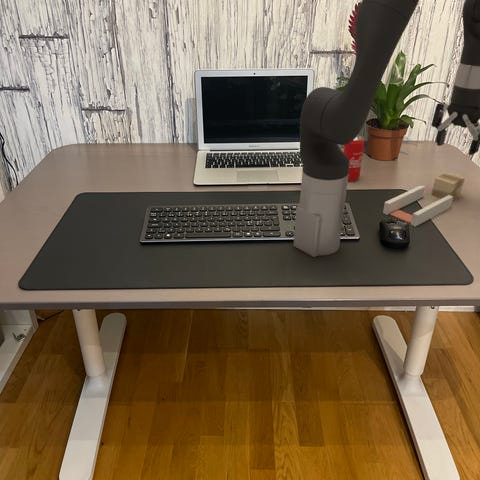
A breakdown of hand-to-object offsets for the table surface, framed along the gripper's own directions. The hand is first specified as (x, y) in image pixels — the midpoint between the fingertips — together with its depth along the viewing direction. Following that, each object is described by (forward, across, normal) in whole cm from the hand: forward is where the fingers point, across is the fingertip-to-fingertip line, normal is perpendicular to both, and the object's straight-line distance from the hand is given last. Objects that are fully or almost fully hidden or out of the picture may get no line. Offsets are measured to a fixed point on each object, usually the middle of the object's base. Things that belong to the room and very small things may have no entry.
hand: (455, 149), depth 124 cm
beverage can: (+13, -24, -10) cm, 29 cm away
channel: (+13, 0, -13) cm, 18 cm away
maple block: (+13, 0, +1) cm, 13 cm away
